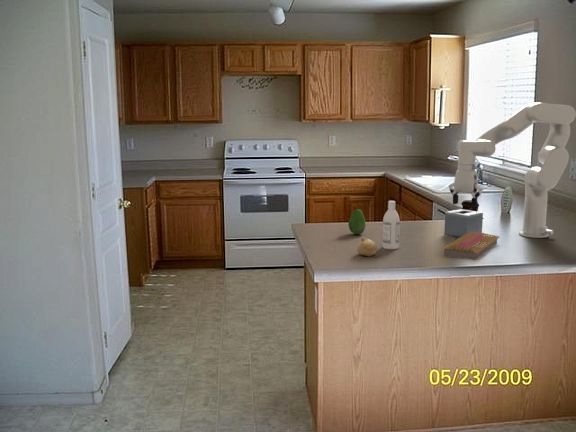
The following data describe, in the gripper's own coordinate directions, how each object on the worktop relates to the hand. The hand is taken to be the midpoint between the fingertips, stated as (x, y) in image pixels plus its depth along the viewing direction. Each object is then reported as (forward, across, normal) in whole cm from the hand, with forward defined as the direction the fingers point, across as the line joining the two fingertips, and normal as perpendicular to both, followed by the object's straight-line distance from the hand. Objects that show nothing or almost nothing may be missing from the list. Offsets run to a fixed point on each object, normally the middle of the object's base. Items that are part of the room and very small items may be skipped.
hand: (464, 205), depth 277 cm
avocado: (+14, +34, +35) cm, 51 cm away
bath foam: (+14, +6, +44) cm, 47 cm away
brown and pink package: (+15, -18, +21) cm, 31 cm away
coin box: (+14, 0, 0) cm, 14 cm away
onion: (+15, +4, +61) cm, 63 cm away
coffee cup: (+14, +10, -20) cm, 27 cm away
